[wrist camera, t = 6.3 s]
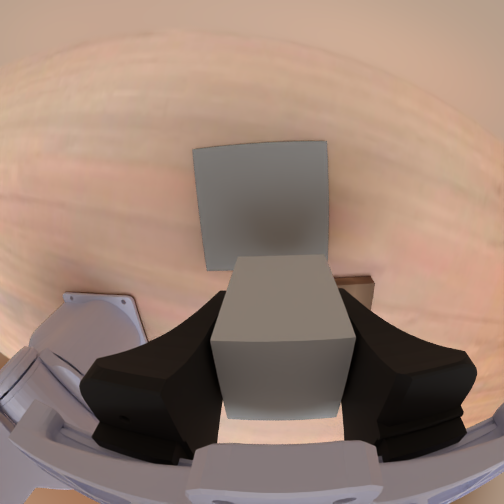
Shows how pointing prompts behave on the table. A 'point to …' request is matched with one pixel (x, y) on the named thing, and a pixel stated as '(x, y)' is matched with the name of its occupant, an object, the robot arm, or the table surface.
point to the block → (282, 340)
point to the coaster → (262, 200)
